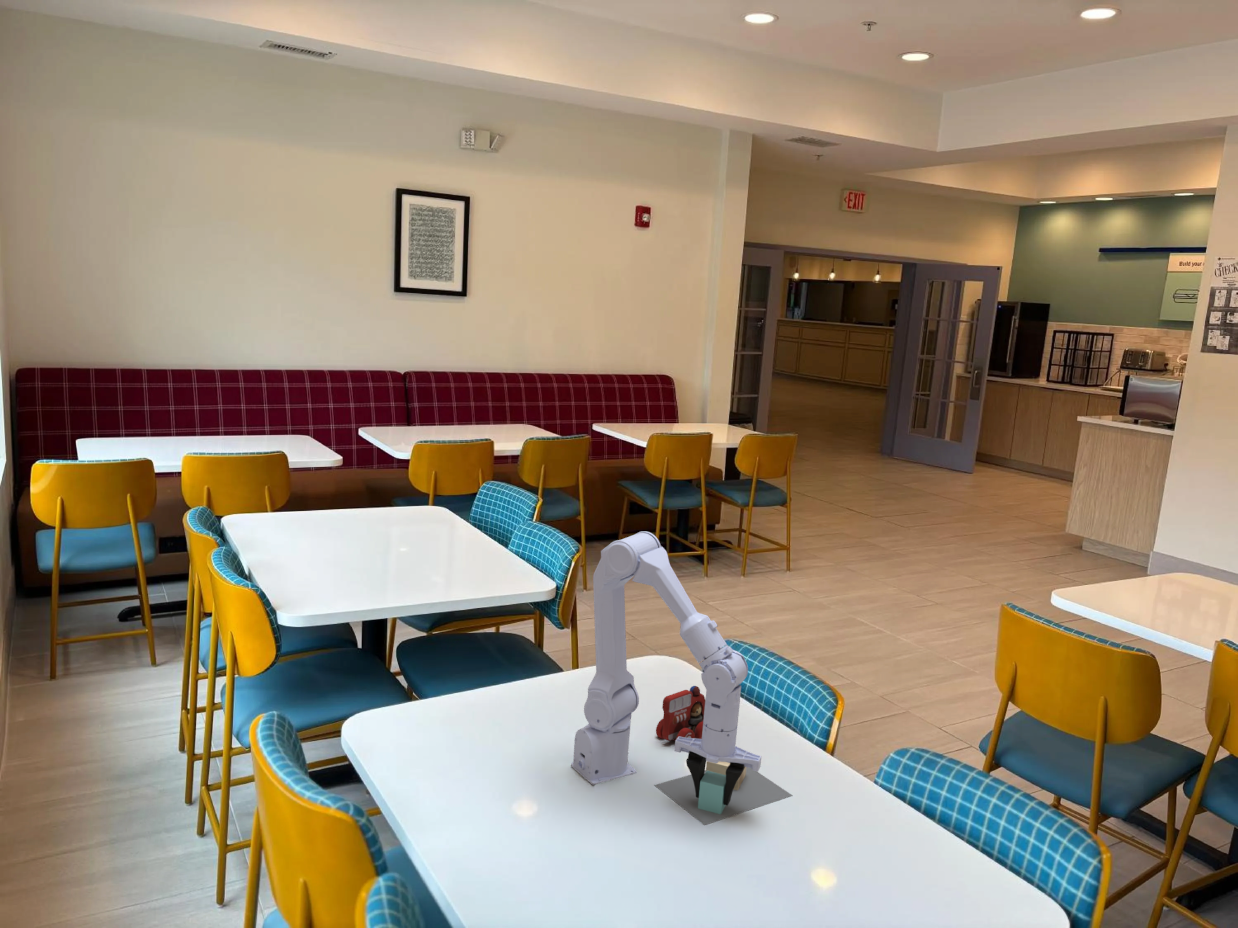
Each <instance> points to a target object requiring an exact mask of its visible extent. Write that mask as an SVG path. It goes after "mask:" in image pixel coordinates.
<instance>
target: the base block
mask: <svg viewBox="0 0 1238 928" xmlns="http://www.w3.org/2000/svg"><path fill="white" fill-rule="evenodd" d="M729 765H730V763H728V762H720V761H719V762H718V763H712V762H708V761H706V765H705V770H706V771H711V772H715V773H719V774H723V775H726V770H727V768H728V766H729ZM745 775H746V767H745V768H744V770H743V772H742V774H741V776H740V777H739V779H738V780H737V782H736V784H735V786H734V790H738V789H739V787H740V785H741V783H742V781H743V779H744V777H745Z"/></svg>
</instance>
